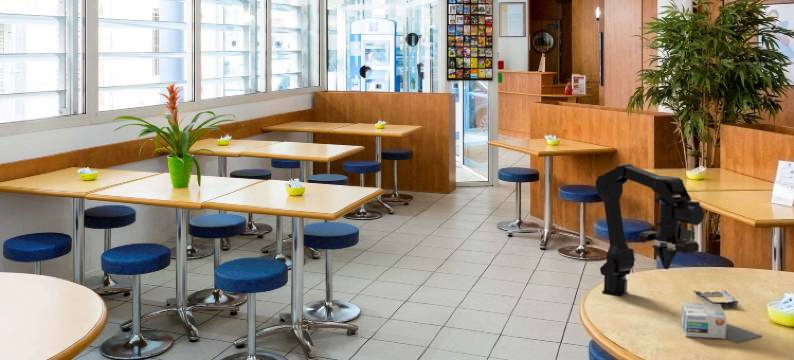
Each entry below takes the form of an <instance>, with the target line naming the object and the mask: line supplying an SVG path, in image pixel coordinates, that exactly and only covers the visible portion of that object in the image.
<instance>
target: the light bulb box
mask: <svg viewBox="0 0 794 360" xmlns="http://www.w3.org/2000/svg"><path fill="white" fill-rule="evenodd" d="M681 304H682V306H681V307H682V308H681V327H682V329H683V331H684V335H685V337H686V338H709V339H711V338H712V339H722V340H723V339H724V340H726V339H725V334H726V324H727V316H726V313H725V311H724V308H722V306H721V304H709V303H705V302H687V301H683V302H682V303H681Z"/></svg>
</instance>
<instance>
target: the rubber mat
mask: <svg viewBox="0 0 794 360" xmlns="http://www.w3.org/2000/svg"><path fill="white" fill-rule="evenodd" d="M761 337H762V334H758V333H755V332H753V331H749V330H747V329H744V328H741V327H738V326H734V325H732V324H729V323H726V334H725V339H724V340H728V341H731V342H734V343H736V344H741V343H743V342H747V341H751V340H755V339H757V338H761Z"/></svg>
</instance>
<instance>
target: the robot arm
mask: <svg viewBox="0 0 794 360" xmlns="http://www.w3.org/2000/svg"><path fill="white" fill-rule="evenodd" d="M628 181H632V182H634V183H637V184H640V185H642V186H645V187H647V188H650V189H651V190H652V192H654V194H655V195H658V197H657V198H655V199H654V200H653V202H654V203H657V204H659V213H658V214H659V215H658V218H659V219H658V221H656V222H655V226H658V230H657V231H655V230H647V231H640V233H639V234H638V240H637V241H638V242H641V243H647V242H648V241H652V242H653V245H651V246H652V248H653V249H654V250H655V252H656V254H657V256H658V258H659V260H660V262H661V264H662V267H663V269H664V270H669V269H670V266H671V264H672V262H673V259H674V258H675V256H676V254H677V253H678V252H679V253H682V254H691V253H696V252H699V251H700V250H699V249H700V244H699V243H698V241H696V240H695V241H694V240H691V238H692V235H693V231H692V230H691V229H687V228H684V227H683V223H685V224H689V225H694V226H698V225H700V224H701V223H702V222H703V221H704V217H705V212H704V209H703V208H702V206H701V205H700V204H701V202H700V201H693V200H692V198H691V196H690V194H689V192H688V190H687V188H686V186H685V184H684V181H683V179H682V178H680V177H677V176H676V177H675V176H668V175H660V174H656V173H654V172H650V171H648V170H645V169H642V168H639V167H636V166H634V165H633V164H631V163H625V164H619V165H617V166H616V167H615V168H613V169H611V170H609V171H607V172H606V173H604V174H601V175H598V177H597V178H596V179H595V188H596V192H597V195H598V197H599V198H600V199H601V200H602V202H603V204H604V205H603V206H604V214H605V219H606V226H607V233H608V239H609V247H608V250H607V252H606V262H605V263H604V264H603V265H602V266H600V267H599V270H600V275H602V276H604V279H603V280H604V281H603V282H604V283H603V290H602V291H601V293H602V294H606V295H613V296H619V297H620V296H622V297H623V295H624V294H626V292H627V291H628V279H627V275H630V273H631V271H632V269H633V267H634V266H635V261H636V258H635V255H634V253H635V252H634V249H633V248H629V246H628V244H626V239H625V237H626V236H625V230H624V223H623V217H622V210H621V203H620V200H621V197H622V194H623V192H624V186H623V185H625V184H626V183H627V182H628Z"/></svg>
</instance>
